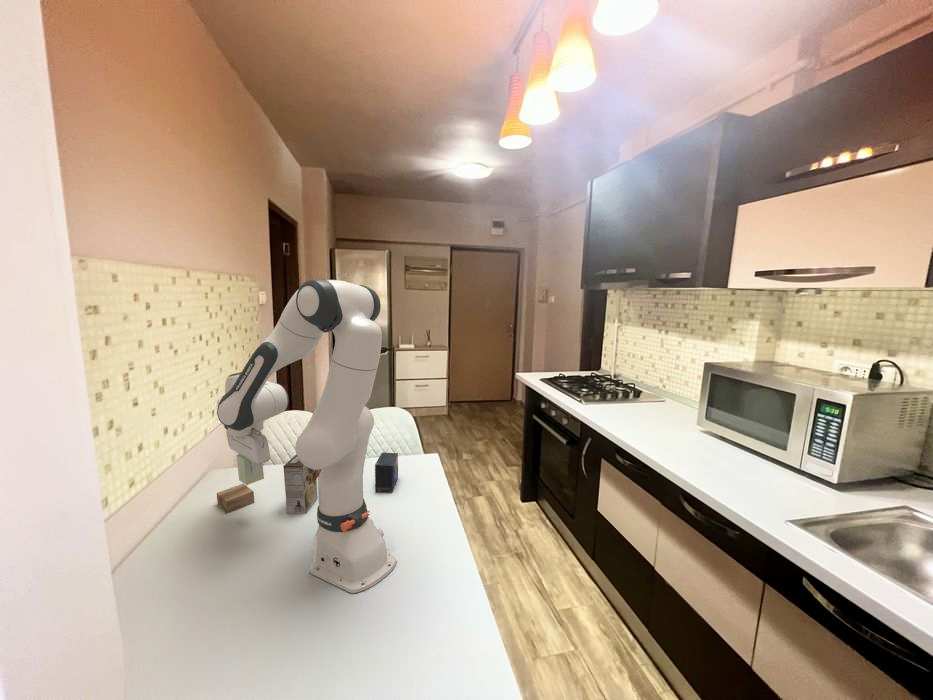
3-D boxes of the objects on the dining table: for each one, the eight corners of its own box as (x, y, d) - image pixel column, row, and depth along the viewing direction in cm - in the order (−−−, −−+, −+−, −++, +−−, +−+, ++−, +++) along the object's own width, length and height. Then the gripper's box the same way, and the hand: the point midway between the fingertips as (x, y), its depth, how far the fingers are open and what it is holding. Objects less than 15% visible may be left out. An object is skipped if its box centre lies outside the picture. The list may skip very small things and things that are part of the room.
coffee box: (299, 498, 128) (296, 453, 126) (318, 498, 128) (315, 453, 126) (286, 513, 119) (282, 465, 117) (306, 514, 119) (303, 466, 117)
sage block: (264, 478, 115) (261, 453, 114) (246, 485, 111) (243, 459, 110) (256, 474, 118) (254, 449, 117) (239, 480, 114) (236, 455, 113)
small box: (393, 493, 132) (392, 465, 130) (374, 493, 132) (373, 464, 130) (399, 478, 142) (398, 452, 141) (381, 478, 142) (381, 451, 141)
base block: (254, 502, 125) (253, 491, 125) (227, 513, 119) (226, 501, 118) (244, 494, 130) (243, 483, 129) (217, 504, 124) (216, 493, 123)
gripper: (273, 429, 108) (278, 475, 110) (243, 416, 121) (247, 457, 123) (250, 436, 103) (255, 484, 105) (220, 421, 116) (225, 464, 118)
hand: (250, 469), depth 114 cm, fingers closed on sage block, 5 cm apart
